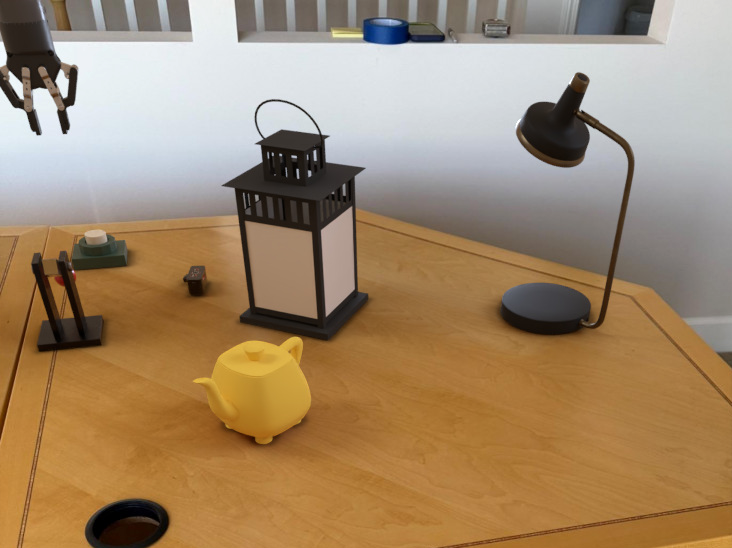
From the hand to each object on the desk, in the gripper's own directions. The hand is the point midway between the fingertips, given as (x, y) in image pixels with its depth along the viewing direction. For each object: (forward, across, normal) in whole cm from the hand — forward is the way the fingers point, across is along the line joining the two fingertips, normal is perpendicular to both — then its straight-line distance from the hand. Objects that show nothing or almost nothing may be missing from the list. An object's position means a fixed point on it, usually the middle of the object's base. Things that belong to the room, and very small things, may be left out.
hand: (52, 133), depth 135 cm
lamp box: (+25, +2, +6) cm, 26 cm away
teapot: (+25, +27, -60) cm, 71 cm away
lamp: (+25, +82, -37) cm, 93 cm away
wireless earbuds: (+25, +20, -11) cm, 34 cm away
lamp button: (+21, +2, +6) cm, 22 cm away
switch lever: (+17, -1, -22) cm, 28 cm away
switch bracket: (+25, -2, -26) cm, 36 cm away
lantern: (+25, +39, -25) cm, 53 cm away
